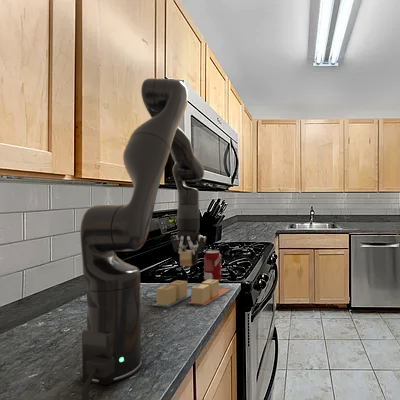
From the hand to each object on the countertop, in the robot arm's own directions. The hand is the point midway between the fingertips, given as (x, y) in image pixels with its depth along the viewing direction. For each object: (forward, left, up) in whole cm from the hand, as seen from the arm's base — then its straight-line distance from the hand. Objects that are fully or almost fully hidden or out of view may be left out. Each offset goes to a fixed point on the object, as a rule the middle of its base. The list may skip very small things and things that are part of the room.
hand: (188, 264), depth 111 cm
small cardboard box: (0, 0, 0) cm, 0 cm away
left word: (-6, 0, -10) cm, 12 cm away
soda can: (+16, 0, -10) cm, 19 cm away
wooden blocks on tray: (-2, -10, -10) cm, 14 cm away
